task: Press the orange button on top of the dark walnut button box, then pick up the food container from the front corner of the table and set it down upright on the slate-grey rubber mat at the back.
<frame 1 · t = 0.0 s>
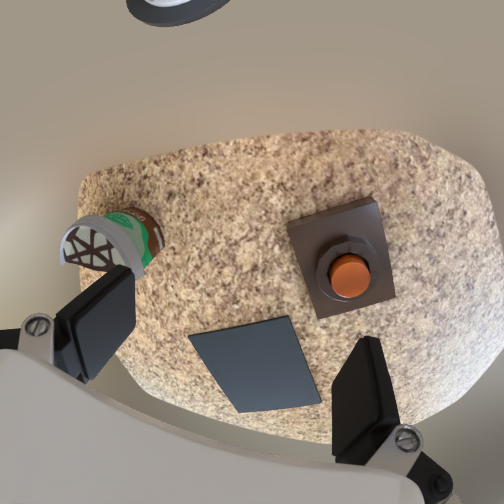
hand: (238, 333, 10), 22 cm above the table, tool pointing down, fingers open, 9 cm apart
button: (349, 275, 27), point 5 cm above the table, slide at 0.1 cm
mat: (259, 373, 41), on the table
food container: (135, 220, 35), on the table
button box: (343, 256, 32), on the table
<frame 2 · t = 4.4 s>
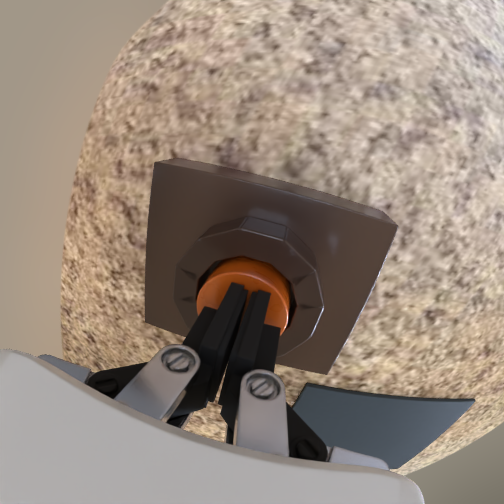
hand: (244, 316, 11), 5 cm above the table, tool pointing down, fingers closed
button: (245, 302, 12), point 4 cm above the table, slide at -0.7 cm, touching gripper
mat: (366, 439, 22), on the table
button box: (259, 262, 16), on the table
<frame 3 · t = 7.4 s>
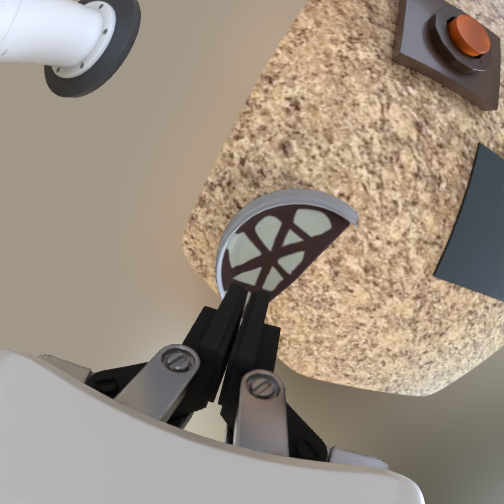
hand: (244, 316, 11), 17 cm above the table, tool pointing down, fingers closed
button: (469, 35, 12), point 5 cm above the table, slide at 0.1 cm
food container: (276, 216, 27), on the table
button box: (446, 48, 16), on the table
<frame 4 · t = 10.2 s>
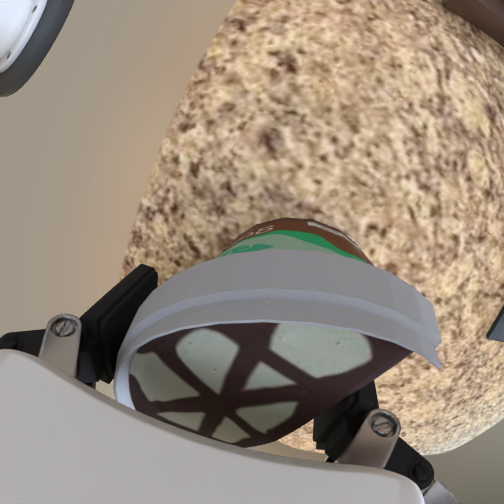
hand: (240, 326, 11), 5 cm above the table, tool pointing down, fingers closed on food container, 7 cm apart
food container: (257, 263, 16), on the table, touching gripper
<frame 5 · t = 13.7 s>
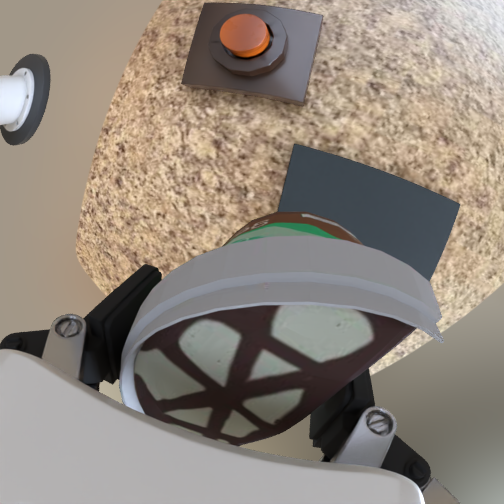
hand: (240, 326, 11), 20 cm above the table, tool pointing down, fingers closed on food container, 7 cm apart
button: (245, 35, 18), point 5 cm above the table, slide at 0.1 cm
mat: (364, 242, 28), on the table
food container: (255, 259, 16), point 14 cm above the table, touching gripper
button box: (255, 52, 23), on the table
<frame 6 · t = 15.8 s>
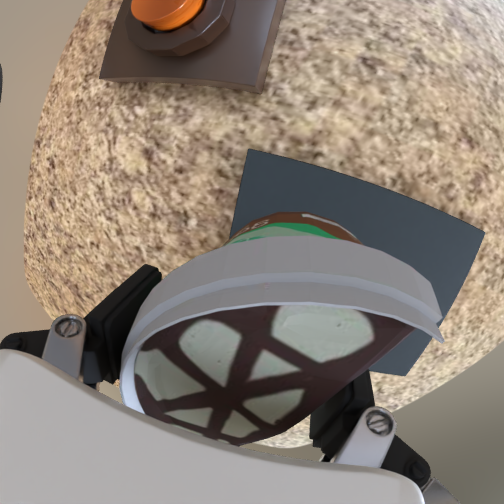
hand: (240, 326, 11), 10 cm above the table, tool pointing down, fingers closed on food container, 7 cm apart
button: (167, 0, 10), point 5 cm above the table, slide at 0.1 cm
mat: (351, 286, 21), on the table
food container: (255, 259, 16), point 5 cm above the table, touching gripper
button box: (197, 26, 15), on the table
when the fingers open (6 cm above the table, at t = 17.4 s): food container stays where it is, resting on mat.
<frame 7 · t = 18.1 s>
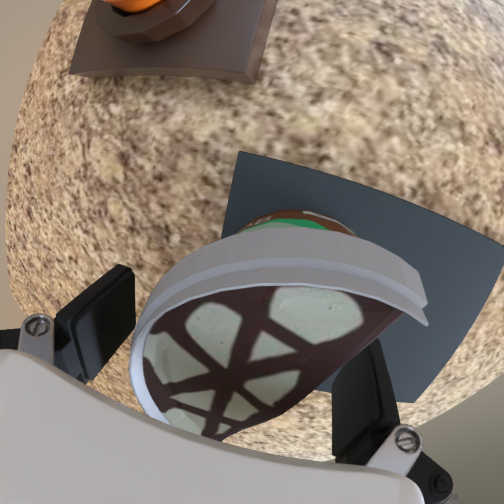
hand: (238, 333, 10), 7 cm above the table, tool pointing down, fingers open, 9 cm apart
mat: (359, 313, 17), on the table
food container: (259, 254, 17), resting on mat
button box: (180, 9, 12), on the table
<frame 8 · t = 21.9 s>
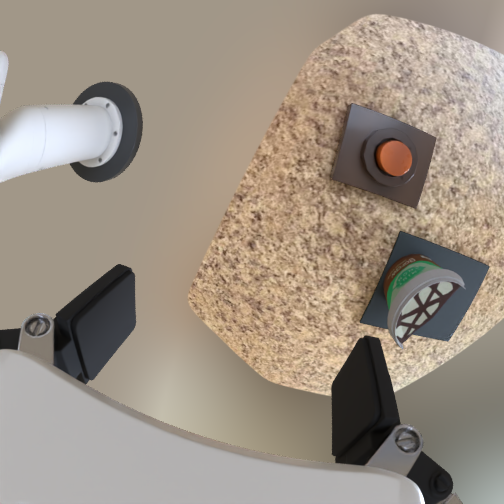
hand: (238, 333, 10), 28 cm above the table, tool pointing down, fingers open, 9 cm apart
button: (393, 157, 27), point 5 cm above the table, slide at 0.1 cm
mat: (430, 294, 37), on the table
food container: (399, 271, 37), resting on mat
button box: (381, 155, 32), on the table
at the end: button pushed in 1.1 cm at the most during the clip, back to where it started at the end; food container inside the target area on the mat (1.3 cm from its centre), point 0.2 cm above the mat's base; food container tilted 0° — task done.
